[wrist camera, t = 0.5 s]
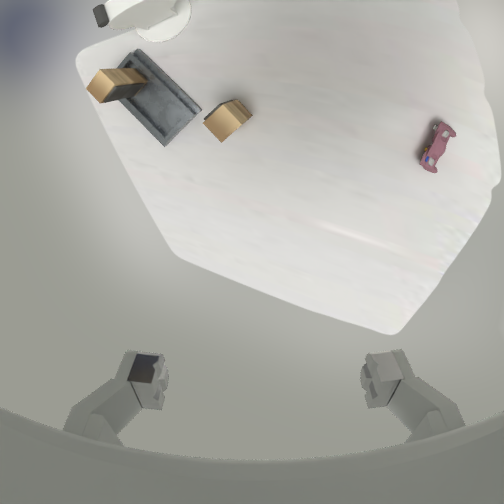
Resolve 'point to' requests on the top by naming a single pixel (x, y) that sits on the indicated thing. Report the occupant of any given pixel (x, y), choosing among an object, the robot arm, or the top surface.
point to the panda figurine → (146, 17)
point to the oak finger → (226, 119)
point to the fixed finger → (116, 84)
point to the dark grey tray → (158, 100)
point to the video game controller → (436, 146)
